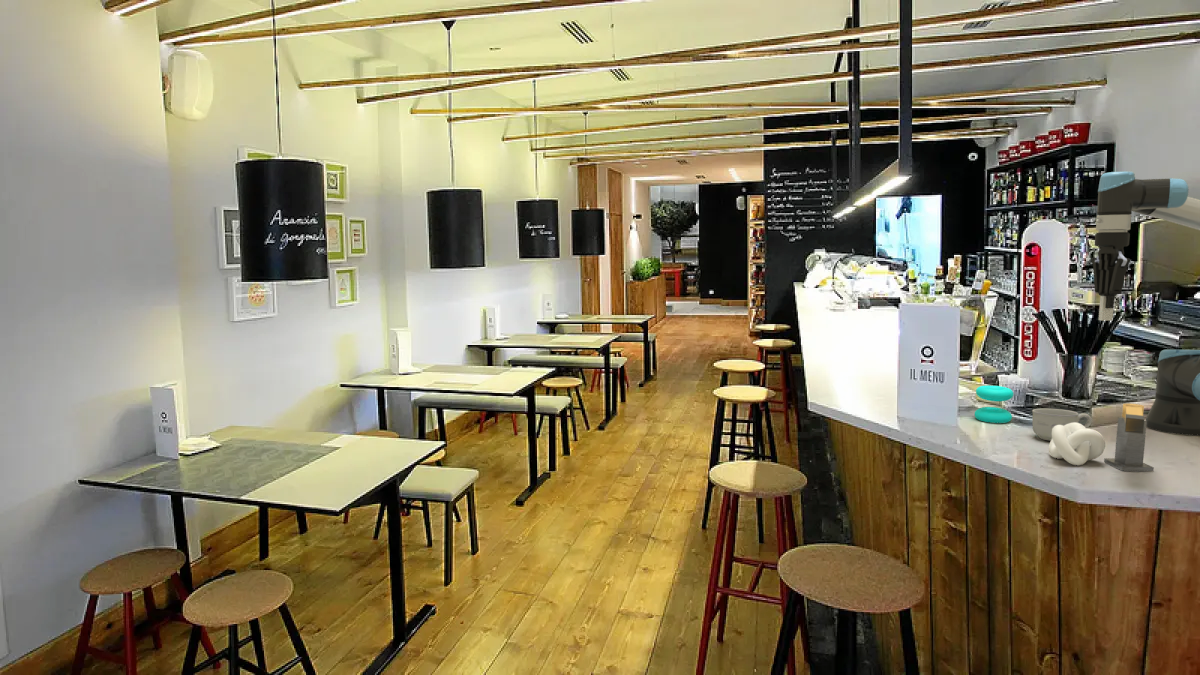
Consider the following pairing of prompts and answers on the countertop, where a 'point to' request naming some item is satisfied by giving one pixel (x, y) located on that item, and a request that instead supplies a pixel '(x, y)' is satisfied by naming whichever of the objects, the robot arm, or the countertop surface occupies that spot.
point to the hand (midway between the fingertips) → (1105, 320)
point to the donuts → (993, 412)
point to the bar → (1133, 418)
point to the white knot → (1076, 443)
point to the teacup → (1054, 420)
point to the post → (1129, 450)
